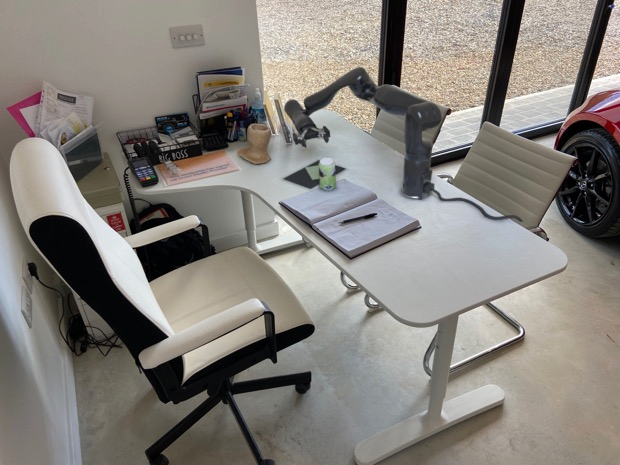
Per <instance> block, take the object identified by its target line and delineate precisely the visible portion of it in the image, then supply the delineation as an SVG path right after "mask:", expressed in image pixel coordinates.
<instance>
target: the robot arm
mask: <svg viewBox="0 0 620 465" xmlns="http://www.w3.org/2000/svg"><path fill="white" fill-rule="evenodd" d="M347 87H348V89H349V90H350V92H351V93H352V94H353V96H354V97H356V98H357V99H359V100H362V101H365V102H367V103H370V104H371V105H373V106H375V107H377V108H379V109H380V110H382V111H384V112H386V113H388V114H390V115H395V116H400V117H401V116H403V117H404V118H403V119H404V124H403V125H404V126H403V127H404V128H403V141H404V157H403V169H402V170H403V172H402V174H403V175H402V182H401V195H402V196H404V197H405V198H407V199H412V200H424V199H425V198H426V197H427V196H429V195H430V194H431V193H435V194H436V195H437V197H438V199H439V200H440V201H442V202H457V201H461V202H465V203H468V204H470V205H472V206H474V207H475V208H477V209H478V210H479V211H480V212H481V213H482V214H483V216H485V217H486V218H488V219H491V220H494V221H495V220H497V221H499V220H506V219H514V220H517V221H518V222H520V223H523V222H524V221H523V219H522V218H521V217H519V216H517V215H514V214H507V215H502V216H494V215H490V214H489V213H487V212H486V211H485V209H484V208H483V207H482V206H481V205H479V204H477V203H476V202H474V201H472V200H470V199H469V198H464V197H452V198H444V197H442V194H441V193H440V192H439V191H438V190H437V189H435V183H433V182H432V178H433V177H432V176H433V170H432V169H431V163H432V156H433V155H432V154H433V147H434V146H433V145H434V144H433V141H432V140H431V139H429V138H426V137H423V132H426V131H429V130H433V129H435V128H437V127H438V126H439V125H440V124H441V123H442V119H443V113H442V110H441V108H440V107H439V106H438V105H437V104H436V103H435V102H433V101H431V100H426V99H423V98H420V97H416V96H414V95H412V94H410V93H408V92H405V91H404V90H401V88H398V87H395V86H394V85H391V84H383V85H380V86H379V85H378V84H376V83H375V82H374V80H373V79H372V77H371V76H370V74H369V73H368V71H367V69H366V68H364V67H362V66H357V67H355V68H352V69H351V70H349V71H347V72H346V73H345V74H343V75H341V76H340V77H339V78H337V79H336V80H335V81H333V82H331V83H330V84H328V85H327V86H326V87H324V88H322V89H320V90H318V91H316V92H314V93H312V94H310V95H308V96H306V97H304V99H303V106H304V107H303V106H302V105H301V103H300V102H299V101H298V100H297V99H293V98H291V99H289V100H287V101H286V102H285V104H284V105H283V110H284V112H285V114H286V115H287V116H288V118H290V120H291V122H292V124H293V125H294V128H295V130H296V132H297V133H296V132H292V133H291V134H292V140H293V142H294V145H295V146H299V145H301V147H303V148H304V149H306V148H307V147H308V146H307V142H308V141H309V140H310V141H311V140H313V139H317V140H323V141H324V142H325V143H326V144H328V143H329V142H330V138H331V131H330V130H329V129H328V127H327V126H326V125H323V126H322V128H319V127H318V126H317V125H316V124H315V121H314V120H313V119H312V118H311V115H312V114H314V113H316V112H318V111H320V110H322V109H324V108H327V106H329V105H330V104H331V103H332V102H333V100H334V98H335V97H336V95H337V94H339V92H340V91H341V90H342V89H345V88H347Z"/></svg>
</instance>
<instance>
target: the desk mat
mask: <svg viewBox="0 0 620 465" xmlns="http://www.w3.org/2000/svg"><path fill="white" fill-rule="evenodd" d="M320 160H321V159H320ZM320 160H316V161H314V162H312V163H310V164H309V165H307V166H305V167H303V168H301V169H299V170H297V171H295V172H293V173H291V174H289V175H288V176H285V177H283V181H287V182H290V183H293V184H296V185H298V186H301V187H304V188H307V189H309V190H311V189H313V188H315V187H317V186H319V185H320V179H319V166H318V165H319V162H320ZM344 171H346V167H343V166H340V165H337V164H335V176H337V175H338V174H339V173H342V172H344Z"/></svg>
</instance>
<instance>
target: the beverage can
mask: <svg viewBox="0 0 620 465" xmlns="http://www.w3.org/2000/svg"><path fill="white" fill-rule="evenodd" d="M335 165H336V163H335V161H334V159H333V158H331V157H323V158H320V162H319V165H318V166H319V179H320V184H319V187H320V189H322V190H324V191H331V190H333V189H335V188H336V186H337V177H336V176H337V175H335Z"/></svg>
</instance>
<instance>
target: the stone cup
mask: <svg viewBox="0 0 620 465" xmlns="http://www.w3.org/2000/svg"><path fill="white" fill-rule="evenodd" d="M246 131H247V132H246V137H247V142H248V146H247V147H243V148H239V149H238V150H237V151H236V154H237V156H240V158H243V159H244V160H246V161H248V162H249V163H252V164H255V165H259V164H264V163H267V162H269V161H271V159H272V158H271V156H270V155H269V154H268V148H269V144H270V142H271V138H272V129H271V128H270V127H269V126H268V125H265V124H263V123H251V124H250V125H249V126H248V127H247V130H246Z"/></svg>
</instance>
